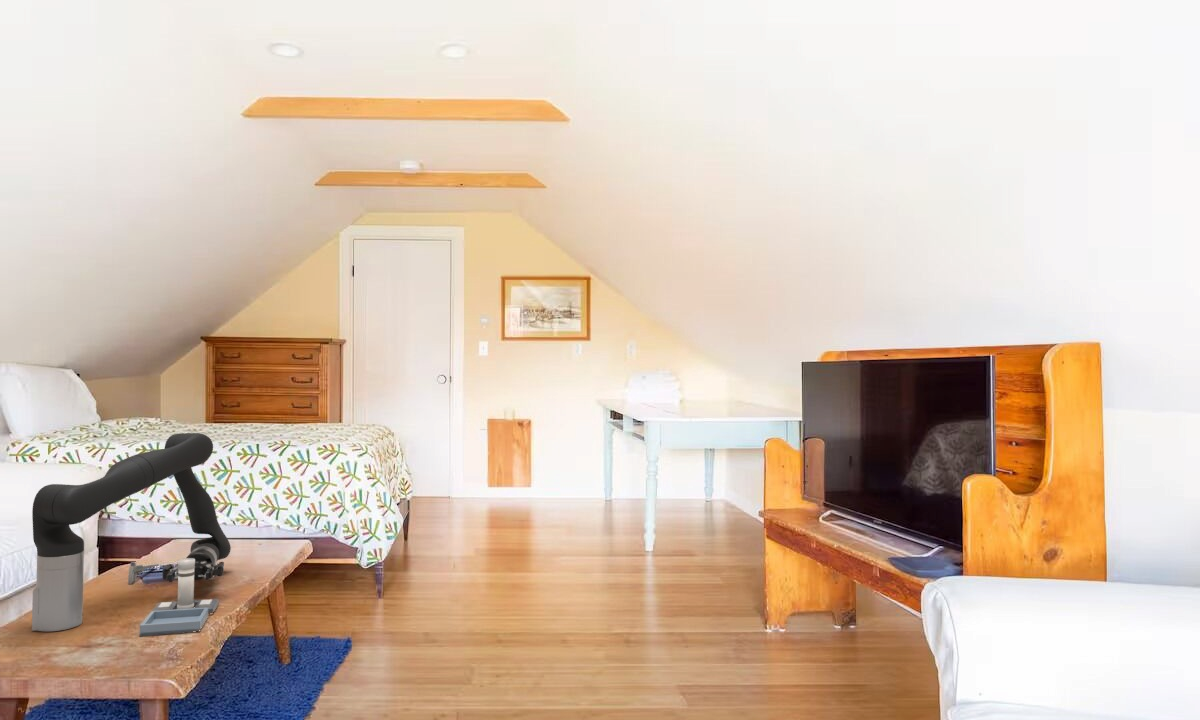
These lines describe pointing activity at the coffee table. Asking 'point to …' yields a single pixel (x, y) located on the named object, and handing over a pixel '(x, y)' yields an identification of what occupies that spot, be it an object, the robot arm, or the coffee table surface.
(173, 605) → the block
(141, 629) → the parts tray
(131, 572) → the caliper
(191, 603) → the fuse
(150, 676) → the coffee table surface
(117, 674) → the coffee table surface
